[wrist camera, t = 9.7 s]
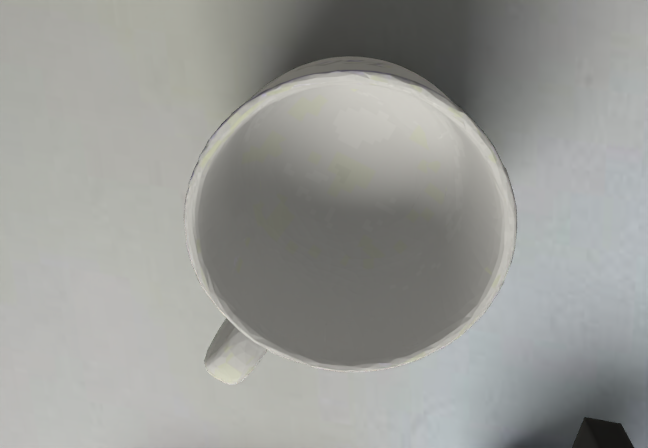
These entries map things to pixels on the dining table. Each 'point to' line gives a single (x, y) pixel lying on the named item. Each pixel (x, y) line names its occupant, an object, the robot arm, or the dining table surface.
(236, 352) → the teacup
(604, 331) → the dining table surface
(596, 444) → the robot arm
